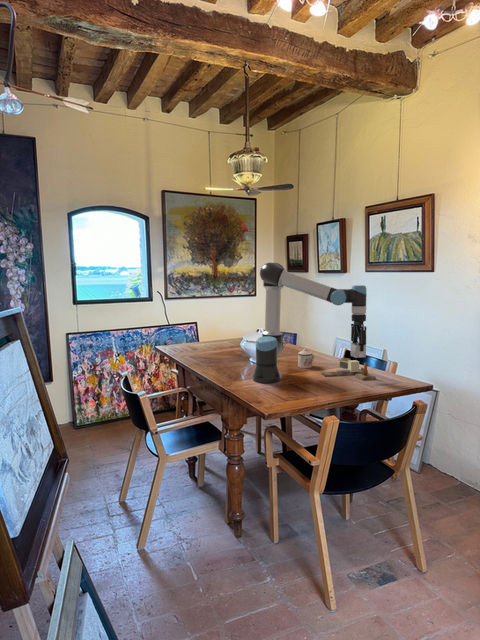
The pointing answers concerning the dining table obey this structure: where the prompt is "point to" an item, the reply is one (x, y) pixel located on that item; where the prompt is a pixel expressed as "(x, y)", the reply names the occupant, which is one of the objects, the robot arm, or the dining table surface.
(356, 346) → the grey hollow square block
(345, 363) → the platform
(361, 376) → the square plate with peg
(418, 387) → the dining table surface
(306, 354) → the teacup with lid
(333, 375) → the rail
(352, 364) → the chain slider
